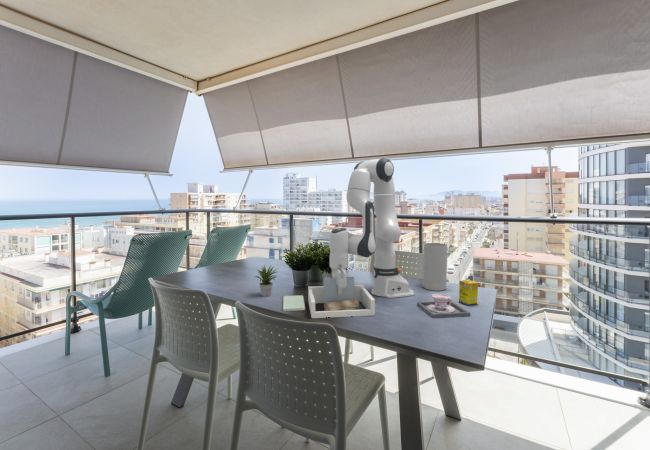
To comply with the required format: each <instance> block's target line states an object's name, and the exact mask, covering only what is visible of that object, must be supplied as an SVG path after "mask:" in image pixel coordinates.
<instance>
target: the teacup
mask: <svg viewBox="0 0 650 450" xmlns="http://www.w3.org/2000/svg"><path fill="white" fill-rule="evenodd" d="M431 297H432V299H433V301H435V305H432V304H431V305H427V309H429V310H430V311H431V312H433V313H455V311H456V308H454V307H453V306H451V305H450V304H451V301H452V299H451V296H450V295H447V294H444V293H432V294H431ZM448 301H450V304H449V305H447V302H448ZM452 302H453V301H452Z"/></svg>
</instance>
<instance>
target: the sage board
mask: <svg viewBox="0 0 650 450" xmlns="http://www.w3.org/2000/svg"><path fill="white" fill-rule="evenodd" d="M282 301H283V303H282V304H283V305H282V312H292V311H293V312H294V311H295V312H297V311H306V306H305V298H304V295H303V294H302V295H283V299H282Z"/></svg>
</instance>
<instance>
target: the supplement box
mask: <svg viewBox="0 0 650 450" xmlns="http://www.w3.org/2000/svg"><path fill="white" fill-rule="evenodd" d="M478 289H479V282H476V281H475V280H470V279H462V280H459V291H458V302H459V303H460V304H462V305H466V306H467V307H468V306H469V307H470V306H475V305H478V295H479V294H478V293H479V291H478Z"/></svg>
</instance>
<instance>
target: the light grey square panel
mask: <svg viewBox="0 0 650 450" xmlns="http://www.w3.org/2000/svg"><path fill="white" fill-rule="evenodd" d="M346 283H347V285H346V288H342V294H338V286H337V284H336V279H335V277H332V276H331V277H323V286H324V303H323V308H324V309H325V303H326V302H335V301H344V300H353V299H354V285H355V277H354V276H346ZM324 309H323V310H324Z"/></svg>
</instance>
